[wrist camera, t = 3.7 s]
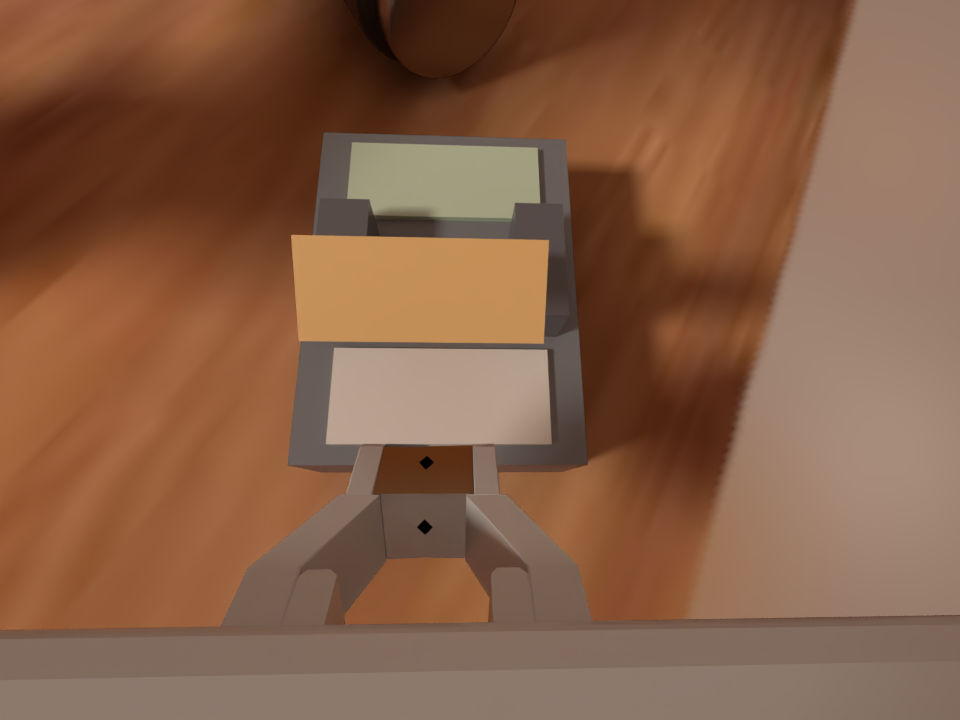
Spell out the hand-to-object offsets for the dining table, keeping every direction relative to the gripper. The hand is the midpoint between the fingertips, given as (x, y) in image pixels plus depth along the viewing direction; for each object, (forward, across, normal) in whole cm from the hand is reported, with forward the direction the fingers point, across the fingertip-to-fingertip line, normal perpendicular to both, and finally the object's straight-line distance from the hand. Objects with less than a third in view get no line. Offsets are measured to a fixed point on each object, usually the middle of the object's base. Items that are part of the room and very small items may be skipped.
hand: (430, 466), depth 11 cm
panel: (+15, 0, +3) cm, 16 cm away
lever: (+11, 0, -1) cm, 11 cm away
